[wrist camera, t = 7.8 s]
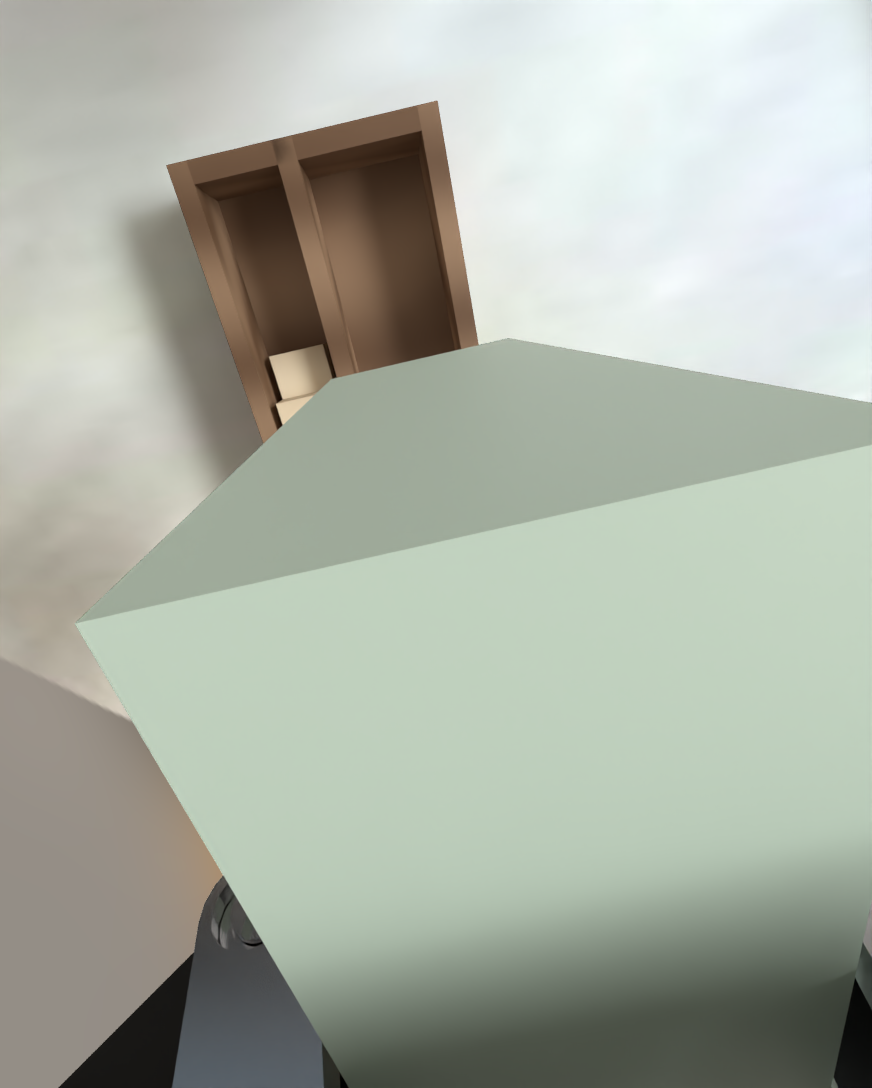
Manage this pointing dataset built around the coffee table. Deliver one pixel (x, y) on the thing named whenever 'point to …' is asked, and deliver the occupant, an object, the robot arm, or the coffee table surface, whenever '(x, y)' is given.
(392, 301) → the tray
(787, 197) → the coffee table surface
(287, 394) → the offcut lower
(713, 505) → the pale green block
